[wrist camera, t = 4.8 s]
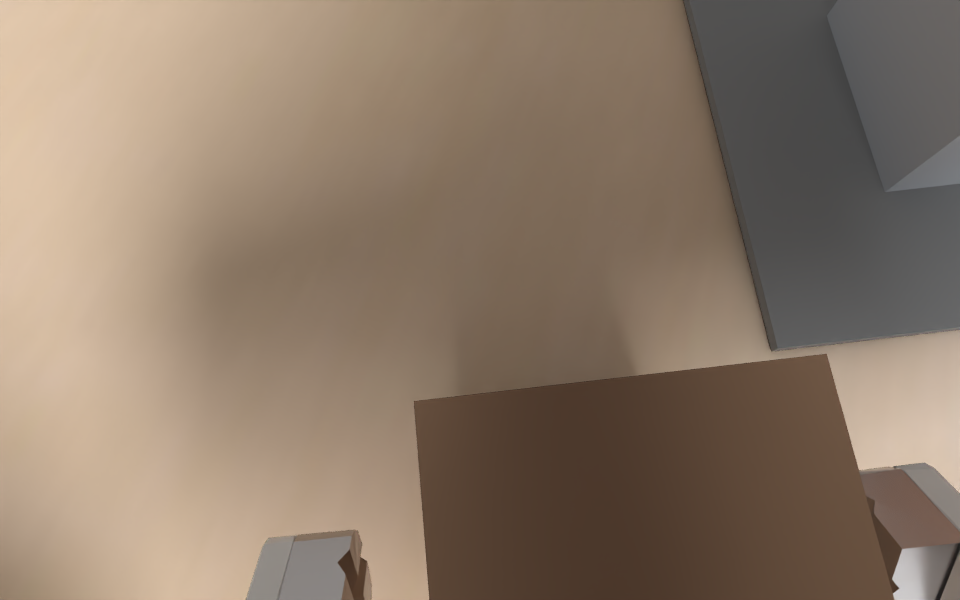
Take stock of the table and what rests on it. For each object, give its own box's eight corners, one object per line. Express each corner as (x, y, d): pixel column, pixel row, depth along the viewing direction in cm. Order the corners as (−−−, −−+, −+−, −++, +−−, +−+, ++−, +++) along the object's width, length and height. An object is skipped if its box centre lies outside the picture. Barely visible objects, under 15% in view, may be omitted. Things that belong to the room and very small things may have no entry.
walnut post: (651, 423, 16) (826, 353, 7) (691, 635, 15) (966, 857, 6) (460, 445, 16) (413, 401, 7) (481, 659, 15) (455, 916, 6)
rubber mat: (1087, -109, 20) (1098, -120, 20) (1293, 291, 16) (1311, 286, 16) (668, -61, 20) (671, -72, 20) (771, 351, 16) (777, 347, 16)
